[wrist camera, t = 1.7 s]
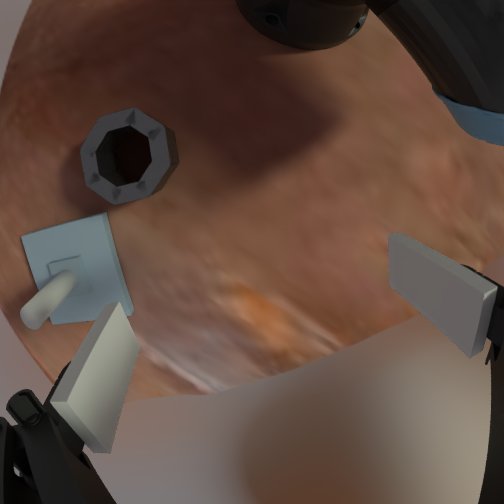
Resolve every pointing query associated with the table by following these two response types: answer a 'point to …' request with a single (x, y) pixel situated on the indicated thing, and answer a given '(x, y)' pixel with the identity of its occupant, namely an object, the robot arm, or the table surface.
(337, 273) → the table surface
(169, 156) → the hub
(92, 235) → the shaft block
